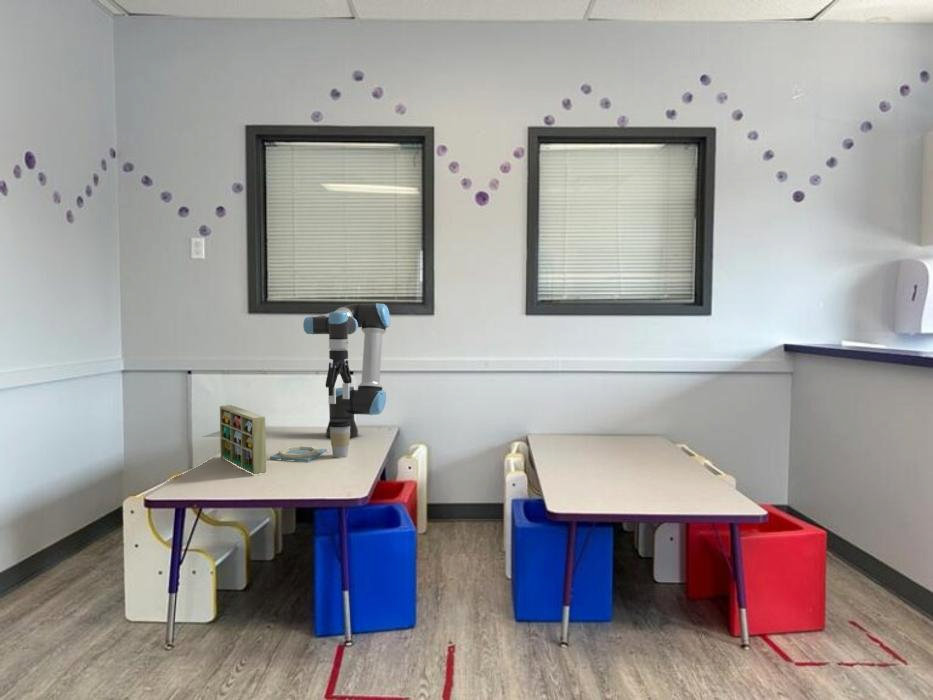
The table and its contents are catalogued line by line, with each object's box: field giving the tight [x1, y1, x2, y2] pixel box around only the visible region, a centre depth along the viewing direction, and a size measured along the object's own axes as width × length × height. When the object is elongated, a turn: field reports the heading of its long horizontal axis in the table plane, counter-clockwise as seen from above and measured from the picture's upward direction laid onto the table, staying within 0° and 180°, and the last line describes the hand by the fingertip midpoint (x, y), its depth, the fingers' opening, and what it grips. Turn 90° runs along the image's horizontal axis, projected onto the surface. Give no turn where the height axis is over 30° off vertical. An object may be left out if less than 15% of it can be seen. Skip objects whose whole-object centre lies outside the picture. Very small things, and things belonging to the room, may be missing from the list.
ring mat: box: [269, 445, 328, 463], centre depth 246 cm, size 17×17×2 cm
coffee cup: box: [327, 419, 351, 458], centre depth 245 cm, size 9×9×15 cm
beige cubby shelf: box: [219, 404, 267, 474], centre depth 230 cm, size 35×5×22 cm, turn 41°
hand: (339, 401), depth 244 cm, fingers open, 13 cm apart
